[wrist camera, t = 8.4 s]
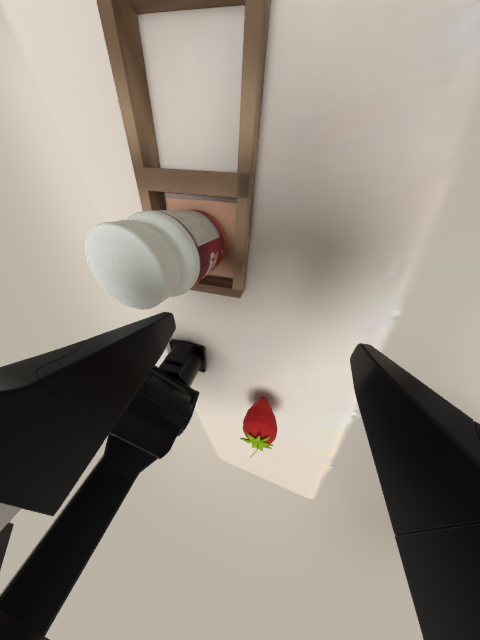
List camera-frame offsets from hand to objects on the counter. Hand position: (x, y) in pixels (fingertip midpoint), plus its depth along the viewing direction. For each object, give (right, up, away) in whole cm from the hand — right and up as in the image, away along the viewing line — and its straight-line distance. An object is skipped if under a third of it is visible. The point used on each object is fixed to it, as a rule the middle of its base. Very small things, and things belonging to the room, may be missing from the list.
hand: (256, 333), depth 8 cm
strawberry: (+4, -15, +26) cm, 30 cm away
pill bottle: (-5, +10, +11) cm, 16 cm away
